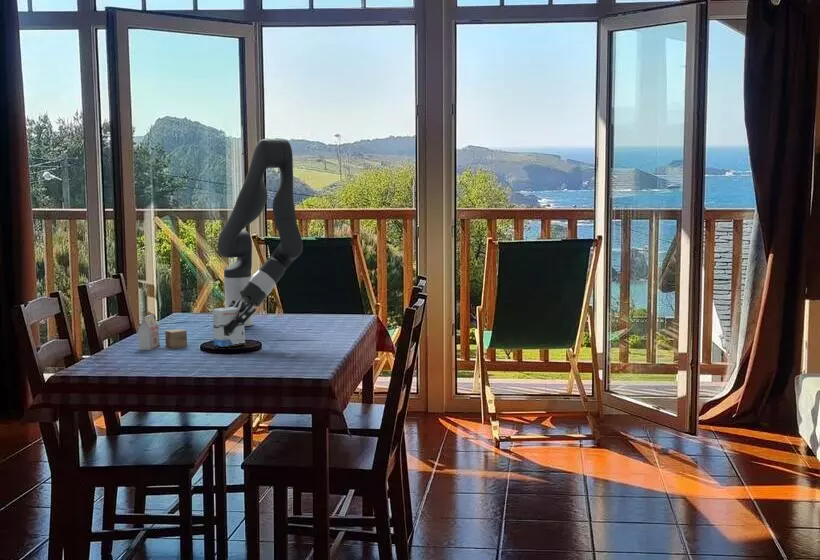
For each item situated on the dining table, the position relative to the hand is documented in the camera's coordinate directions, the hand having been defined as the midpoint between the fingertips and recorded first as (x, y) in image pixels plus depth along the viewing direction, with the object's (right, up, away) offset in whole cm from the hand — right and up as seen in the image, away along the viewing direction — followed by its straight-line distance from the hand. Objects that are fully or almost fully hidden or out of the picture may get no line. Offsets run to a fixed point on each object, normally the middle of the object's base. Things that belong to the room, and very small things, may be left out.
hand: (223, 329), depth 295 cm
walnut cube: (-15, -5, +3) cm, 17 cm away
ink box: (+2, -5, +2) cm, 6 cm away
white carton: (-23, -6, +2) cm, 24 cm away
